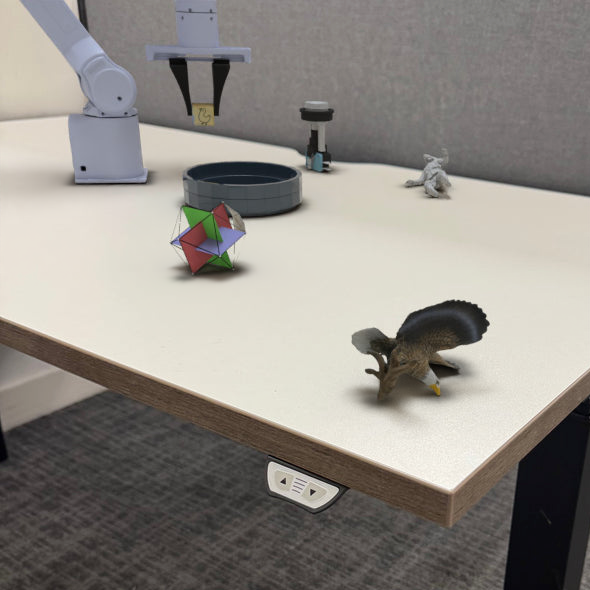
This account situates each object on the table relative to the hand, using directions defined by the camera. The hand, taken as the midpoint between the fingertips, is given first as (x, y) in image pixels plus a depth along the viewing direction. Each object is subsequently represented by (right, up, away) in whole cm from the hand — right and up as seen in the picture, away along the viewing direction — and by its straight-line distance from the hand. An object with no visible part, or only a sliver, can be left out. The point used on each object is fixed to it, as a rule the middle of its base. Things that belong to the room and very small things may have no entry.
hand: (203, 115), depth 116 cm
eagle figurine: (+30, -41, -57) cm, 77 cm away
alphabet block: (0, -1, +1) cm, 2 cm away
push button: (+16, -5, +10) cm, 19 cm away
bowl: (+8, -16, -11) cm, 21 cm away
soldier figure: (+34, -11, +1) cm, 36 cm away
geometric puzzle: (+10, -29, -36) cm, 47 cm away
